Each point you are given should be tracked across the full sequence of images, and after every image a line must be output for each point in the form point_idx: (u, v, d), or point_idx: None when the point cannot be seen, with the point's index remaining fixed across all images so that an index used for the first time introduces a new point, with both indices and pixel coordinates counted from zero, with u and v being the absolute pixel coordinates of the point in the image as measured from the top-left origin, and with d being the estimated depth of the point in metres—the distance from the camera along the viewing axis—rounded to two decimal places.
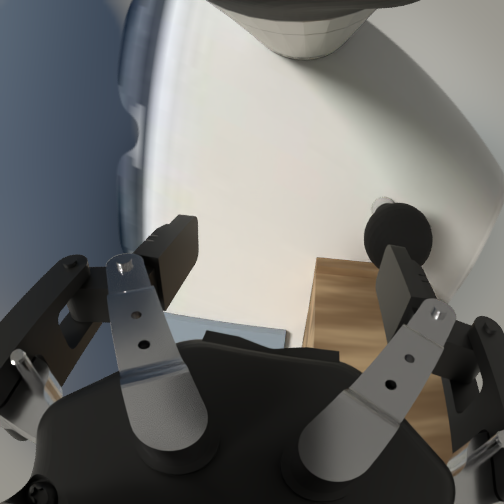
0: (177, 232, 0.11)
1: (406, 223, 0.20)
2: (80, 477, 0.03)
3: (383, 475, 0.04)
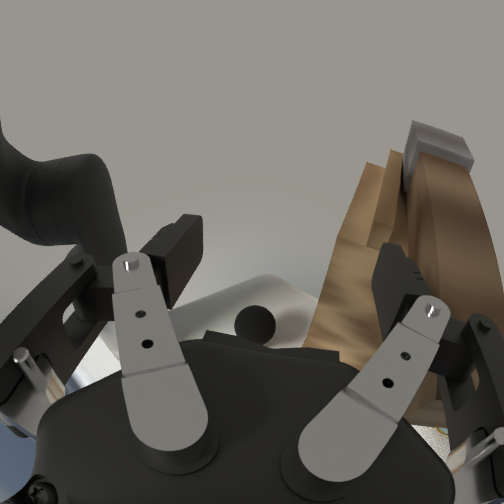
0: (183, 231, 0.11)
1: (239, 314, 0.41)
2: (78, 477, 0.03)
3: (383, 475, 0.04)
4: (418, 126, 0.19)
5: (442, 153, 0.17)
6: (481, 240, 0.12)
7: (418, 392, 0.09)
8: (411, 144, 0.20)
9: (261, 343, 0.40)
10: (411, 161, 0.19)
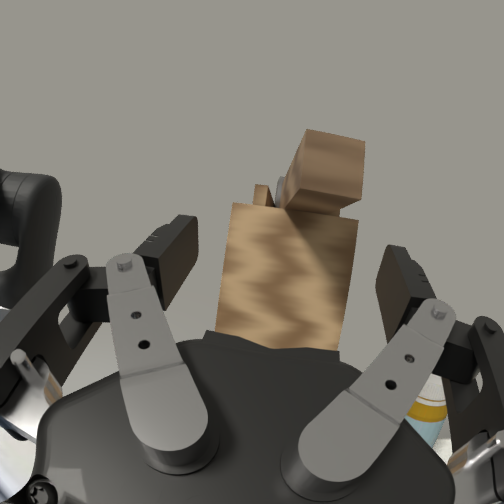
0: (177, 232, 0.11)
1: None
2: (80, 477, 0.03)
3: (383, 475, 0.04)
4: None
5: None
6: None
7: (302, 155, 0.19)
8: (277, 189, 0.37)
9: None
10: (277, 192, 0.35)
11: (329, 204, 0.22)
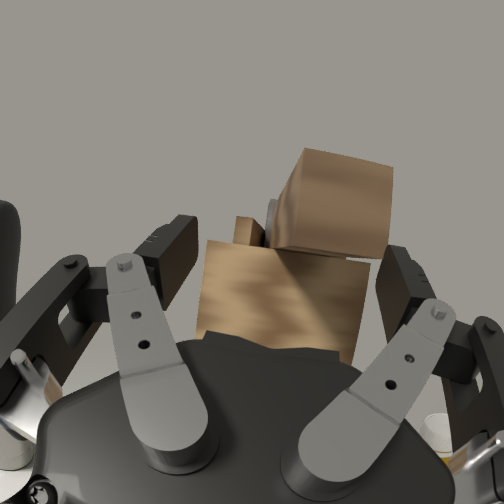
0: (177, 232, 0.11)
1: None
2: (80, 477, 0.03)
3: (383, 475, 0.04)
4: None
5: None
6: None
7: (297, 188, 0.12)
8: None
9: None
10: (268, 218, 0.29)
11: (335, 254, 0.15)
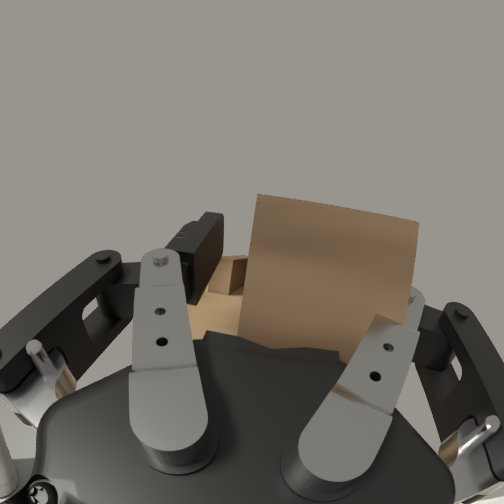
0: (207, 228, 0.11)
1: None
2: (70, 476, 0.03)
3: (383, 475, 0.04)
4: None
5: None
6: None
7: None
8: None
9: None
10: None
11: None
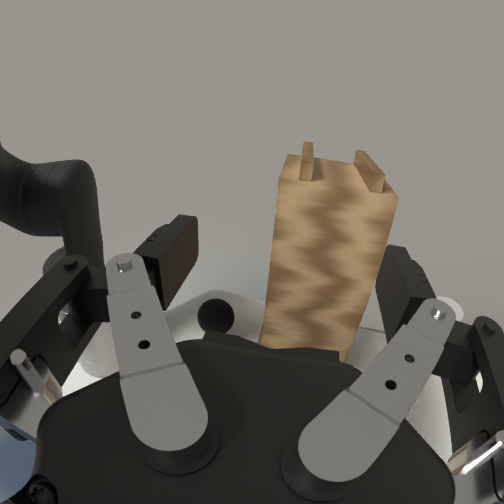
0: (177, 232, 0.11)
1: (201, 307, 0.46)
2: (80, 477, 0.03)
3: (383, 475, 0.04)
4: None
5: None
6: None
7: None
8: None
9: (225, 329, 0.45)
10: None
11: None
